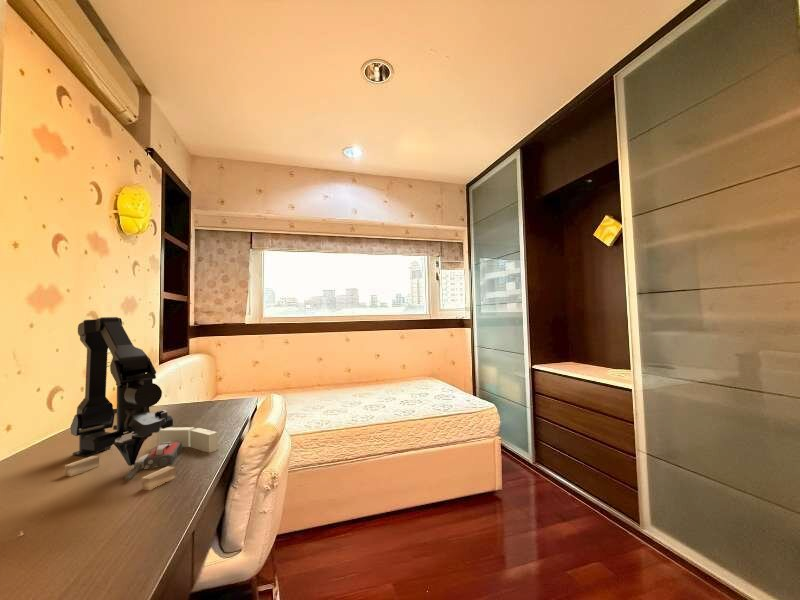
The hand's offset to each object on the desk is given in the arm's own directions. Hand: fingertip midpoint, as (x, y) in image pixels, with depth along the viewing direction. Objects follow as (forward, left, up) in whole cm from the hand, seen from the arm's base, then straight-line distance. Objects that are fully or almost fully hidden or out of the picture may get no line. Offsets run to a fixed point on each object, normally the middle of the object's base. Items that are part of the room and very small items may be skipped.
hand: (131, 465), depth 86 cm
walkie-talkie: (+2, +5, -2) cm, 6 cm away
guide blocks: (0, -3, -2) cm, 3 cm away
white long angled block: (0, +16, -2) cm, 16 cm away
